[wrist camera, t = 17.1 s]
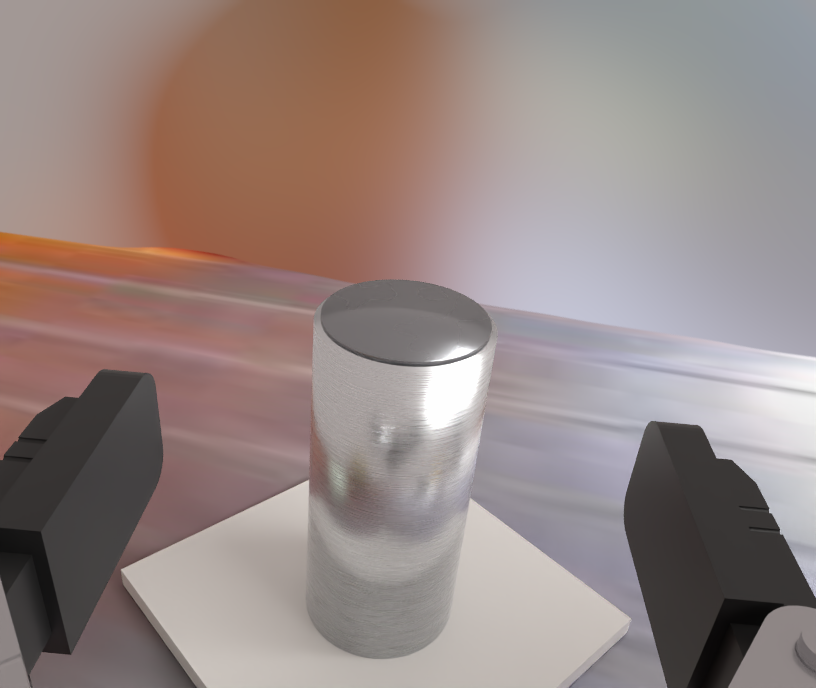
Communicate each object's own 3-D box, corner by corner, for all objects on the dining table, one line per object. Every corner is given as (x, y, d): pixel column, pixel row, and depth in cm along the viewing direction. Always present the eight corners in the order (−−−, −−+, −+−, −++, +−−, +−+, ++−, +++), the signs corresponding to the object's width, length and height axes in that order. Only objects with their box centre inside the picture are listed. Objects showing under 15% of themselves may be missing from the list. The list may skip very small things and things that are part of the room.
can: (385, 523, 32) (410, 263, 26) (481, 605, 29) (536, 327, 23) (276, 587, 29) (276, 304, 23) (371, 688, 25) (401, 387, 19)
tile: (391, 452, 38) (392, 439, 38) (626, 632, 29) (631, 618, 29) (122, 584, 29) (120, 569, 29) (345, 894, 21) (346, 879, 20)
